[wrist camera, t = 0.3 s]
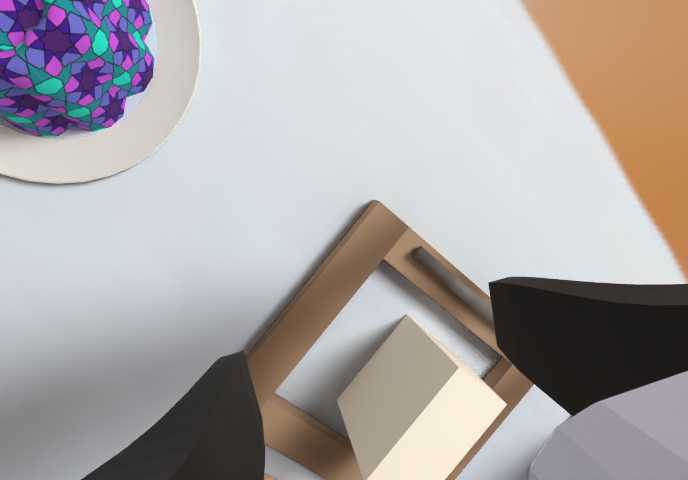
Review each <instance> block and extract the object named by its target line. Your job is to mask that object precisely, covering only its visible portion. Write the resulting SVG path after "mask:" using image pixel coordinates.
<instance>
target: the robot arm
mask: <svg viewBox="0 0 688 480" xmlns="http://www.w3.org/2000/svg"><path fill="white" fill-rule="evenodd" d="M489 290H490V297H491V305H492V312H493V320H494V327H495V335H496V342H497V346H498V348H499V349H500V350H501V351H502V352H503V354H504V355H505V356H506V357H507V358H508V359H509V361H510V362H511V363H512V364H513V365H514V366H515V367H516V368H517V369H518V370H519V371H520V372H521V373H522V374H523V375H524V376H525V377H527V378H528V379H529V380H530V381H531V382H533V383H534V384H535V385H536V386H537V387H538V388H540V389H541V390H542V391H543V392H544V393H546V394H547V395H548V396H549V397H550V398H552V399H553V400H554V401H555V402H556V403H558V404H559V405H560V406H561V407H562V408H564V409H565V410H566V411H567V412H568V413H569V414H571V415H572V416H573V417H571V418H570V419H568V420H567V421H565V422H563V423H562V424H560V425H559V426H557V427H556V428H555V429H554V431H553V432H552V434H551V435H550V437H549V438H548V440H547V441H546V443H545V444H544V446H543V447H542V449H541V450H540V451H539V453H538V454H537V456H536V457H535V459H534V460H533V462H532V463H531V466H530V469H529V476H528V480H688V284H672V285H634V284H611V283H594V282H582V281H570V280H559V279H548V278H535V277H507V278H504V279H500V280H496V281H493V282H489ZM264 468H265V442H264V430H263V419H262V415H261V411H260V408H259V404H258V401H257V397H256V394H255V390H254V387H253V383H252V380H251V376H250V372H249V369H248V365H247V362H246V358H245V355H244V351H242V352H238V353H235V354H231V355H228V356H224V357H221V358H219V359H218V360H217V361H216V362H215V363H214V364H213V365H212V366H211V367H210V368H209V369H208V370H207V371H206V373H205V374H204V375H203V376H202V377H201V378H200V379H199V380H198V381H197V382H196V384H195V385H194V386H193V387H192V388H191V389H190V390H189V391H188V392H187V393H186V394H185V395H184V396H183V397H182V398H181V399H180V400H179V401H178V402H177V403H176V404H175V405H174V406H173V407H172V408H171V409H170V410H169V411H168V412H167V413H166V414H165V415H164V416H163V417H162V418H161V419H160V420H159V421H158V422H157V423H156V424H154V425H153V426H152V427H151V428H150V429H149V430H147V431H146V432H145V433H144V434H143V435H141V436H140V437H139V438H138V439H137V440H135V441H134V442H133V443H132V444H130V445H129V446H128V447H127V448H125V449H124V450H123V451H121V452H120V453H119V454H117V455H116V456H114V457H113V458H111V459H110V460H109V461H107V462H106V463H104V464H103V465H101V466H100V467H99V468H97V469H96V470H94V471H93V472H91V473H90V474H89V475H87V476H86V477H84V478H83V479H81V480H264Z"/></svg>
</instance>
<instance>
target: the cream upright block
mask: <svg viewBox="0 0 688 480" xmlns="http://www.w3.org/2000/svg"><path fill="white" fill-rule="evenodd" d="M337 402H338V405H339V408H340V411H341V414H342V417H343V420H344V423H345V426H346V429H347V432H348V435H349V438H350V441H351V444H352V447H353V450H354V453H355V456H356V459H357V462H358V465H359V468H360V471H361V474H362V477H363V480H445V479H446V478H447V477H448V475H449V474H450V473H451V472H452V471H453V469H454V468H455V467H456V466H457V465H458V463H459V462H460V461H461V460H462V458H463V457H464V456H465V455H466V454H467V452H468V451H469V450H470V449H471V448H472V446H473V445H474V444H475V443H476V442H477V440H478V439H479V438H480V437H481V436H482V434H483V433H484V432H485V431H486V429H487V428H488V427H489V426H490V425H491V423H492V422H493V421H494V420H495V419H496V417H497V416H498V415H499V414H500V413H501V411H502V410H503V409H504V408H505V406H506V405H507V404H506V403H505V402H504V401H503V400H502V399H501V398H500V397H499V396H498V395H497V394H496V393H495V392H494V391H493V390H492V389H491V388H490V387H489V386H488V385H487V384H486V383H485V382H484V381H482V380H481V379H480V378H479V377H478V376H477V375H476V374H475V373H474V372H473V371H472V370H471V369H470V368H469V367H468V366H467V365H466V364H465V363H464V362H463V361H462V360H461V359H460V358H459V357H458V356H457V355H456V354H455V353H454V352H453V351H451V350H450V349H449V348H448V347H447V346H446V345H445V344H444V343H443V342H442V341H440V340H439V339H438V338H437V337H435V336H434V335H433V334H431V333H430V332H429V331H428V330H426V329H425V328H424V327H423V326H421V325H420V324H419V323H417V322H416V321H415V320H414V319H412V318H411V317H410V316H409V315H406V316H405V317H404V318H403V319H402V321H401V322H400V323H399V324H398V326H397V327H396V328H395V329H394V330H393V332H392V333H391V334H390V335H389V336H388V338H387V339H386V340H385V341H384V343H383V344H382V345H381V346H380V347H379V349H378V350H377V351H376V352H375V354H374V355H373V356H372V357H371V358H370V360H369V361H368V362H367V363H366V365H365V366H364V367H363V368H362V369H361V371H360V372H359V373H358V374H357V376H356V377H355V378H354V379H353V380H352V382H351V383H350V384H349V385H348V386H347V388H346V389H345V390H344V391H343V393H342V394H341V395H340V396H339V397H338V399H337Z"/></svg>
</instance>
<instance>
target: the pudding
mask: <svg viewBox="0 0 688 480" xmlns="http://www.w3.org/2000/svg"><path fill="white" fill-rule="evenodd" d="M148 2H149V4H150V7H151V10H152V14H153V17H154V20H155V23H156V30H157V37H158V59H157V64H156V69H155V73H154V77H153V67H154V58H153V56H152V54H151V53H150V51H149V49H148V47H147V45H146V44H145V42H144V40H145V38H146V36H147V34H148V31H149V29H150V27H151V25H152V20H151V15H150V10H149V5H148V4H147V2H146V0H0V117H2V118H3V119H5V120H6V121H8V122H10V123H11V124H13V125H14V126H16V127H18V128H19V129H22V130H24V131H27V132H29V133H32V134H35V135H37V136H59V135H60V134H62V133H63V132H64V131H66V130H67V129H69V128H70V127H71V126H73V125H75V126H78V127H81V128H84V129H87V130H90V131H97V130H101V129H104V128H108V127H111V126H112V125H113V124H114V123H115V122H117V121H118V120H119V119H120V118H121V117H122V116H123V114H124V108H125V102H126V97H129V96H131V95H134V94H137V93H140V92H142V91H144V90H145V89H146V87H147V85H148V84H149V82H150V80H151V79H152V77H153V80H152V82H151V84H150V87H149V89H148V91H147V93H146V95H145V96H144V98H143V99H142V101H141V102H140V103H139V105H138V106H137V107H136V108H135V109H134V110H133V111H132V112H131V113H130V114H129V115H128V116H127V117H126V118H125V119H123V120H122V121H120V122H119V123H117V124H116V125H114V126H113V127H111V128H109V129H107V130H104V131H102V132H99V133H97V134H94V135H90V136H85V137H81V138H75V139H50V138H41V137H36V136H32V135H28V134H24V133H21V132H18V131H15V130H13V129H11V128H8V127H6V126H4V125H1V124H0V174H2V175H6V176H10V177H14V178H18V179H22V180H26V181H33V182H44V183H55V184H61V183H76V182H86V181H91V180H95V179H99V178H103V177H108V176H111V175H113V174H116V173H118V172H120V171H123V170H125V169H127V168H130V167H132V166H134V165H136V164H137V163H139V162H140V161H142V160H143V159H145V158H146V157H148V156H149V155H151V154H152V153H154V152H155V151H156V150H157V149H158V148H159V147H160V146H161V145H162V144H163V143H164V142H165V141H166V140H167V139H168V138H169V137H170V136H171V135H172V134H173V132H174V131H175V129H176V128H177V126H178V125H179V124H180V122H181V121H182V119H183V118H184V116H185V115H186V112H187V110H188V108H189V106H190V103H191V101H192V99H193V96H194V94H195V91H196V87H197V82H198V78H199V74H200V69H201V53H202V39H201V30H200V22H199V15H198V12H197V8H196V5H195V1H194V0H148Z"/></svg>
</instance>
